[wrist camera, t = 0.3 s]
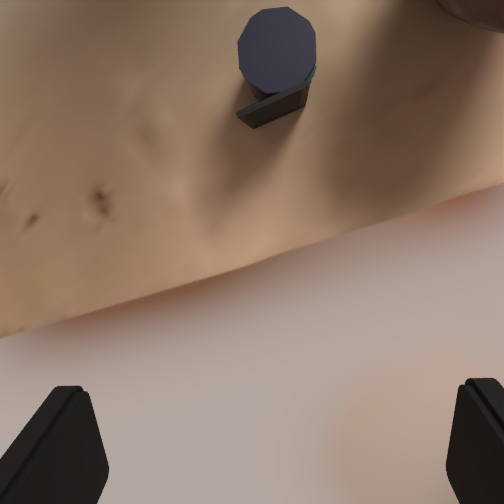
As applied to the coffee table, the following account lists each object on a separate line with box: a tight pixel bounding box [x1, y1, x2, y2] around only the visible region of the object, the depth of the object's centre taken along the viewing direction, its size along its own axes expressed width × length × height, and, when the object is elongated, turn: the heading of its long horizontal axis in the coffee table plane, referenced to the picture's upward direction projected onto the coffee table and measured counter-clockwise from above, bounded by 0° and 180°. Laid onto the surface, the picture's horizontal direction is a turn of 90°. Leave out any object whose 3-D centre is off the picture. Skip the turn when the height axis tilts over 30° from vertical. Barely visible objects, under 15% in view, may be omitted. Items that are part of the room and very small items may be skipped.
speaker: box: [236, 7, 316, 129], centre depth 31 cm, size 8×6×10 cm
